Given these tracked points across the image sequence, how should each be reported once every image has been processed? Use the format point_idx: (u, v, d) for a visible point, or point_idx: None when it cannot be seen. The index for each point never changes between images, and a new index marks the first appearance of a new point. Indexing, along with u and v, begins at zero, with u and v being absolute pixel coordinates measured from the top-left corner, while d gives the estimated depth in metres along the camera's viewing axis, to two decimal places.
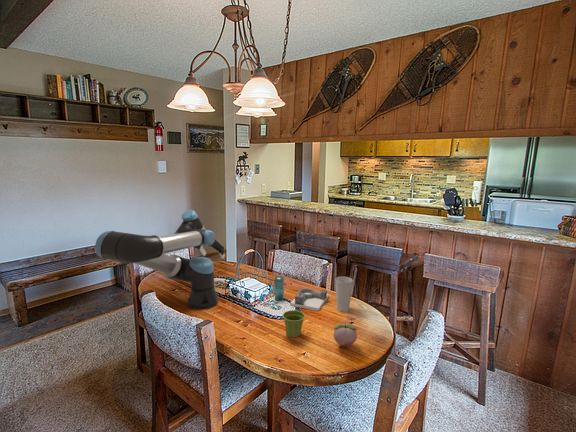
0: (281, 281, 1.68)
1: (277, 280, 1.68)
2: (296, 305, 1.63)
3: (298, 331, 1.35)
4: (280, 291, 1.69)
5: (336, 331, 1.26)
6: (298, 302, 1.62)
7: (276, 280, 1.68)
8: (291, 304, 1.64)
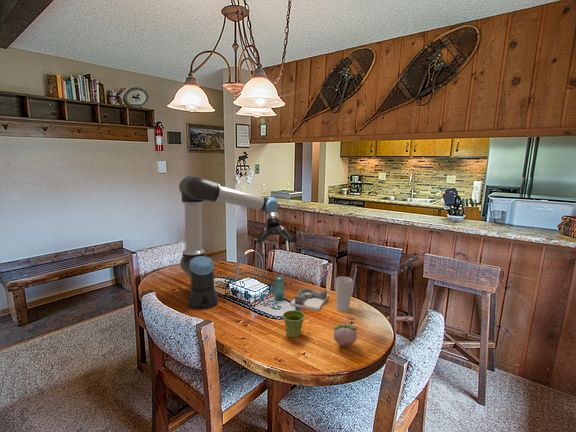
0: (281, 281, 1.68)
1: (277, 280, 1.68)
2: (296, 305, 1.63)
3: (298, 331, 1.35)
4: (280, 291, 1.69)
5: (336, 331, 1.26)
6: (298, 302, 1.62)
7: (276, 280, 1.68)
8: (291, 304, 1.64)
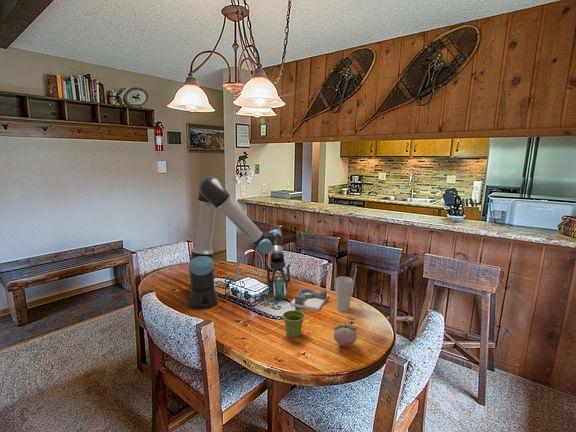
0: (281, 281, 1.68)
1: (277, 280, 1.68)
2: (296, 305, 1.63)
3: (298, 331, 1.35)
4: (280, 291, 1.69)
5: (336, 331, 1.26)
6: (298, 302, 1.62)
7: (276, 280, 1.68)
8: (291, 304, 1.64)
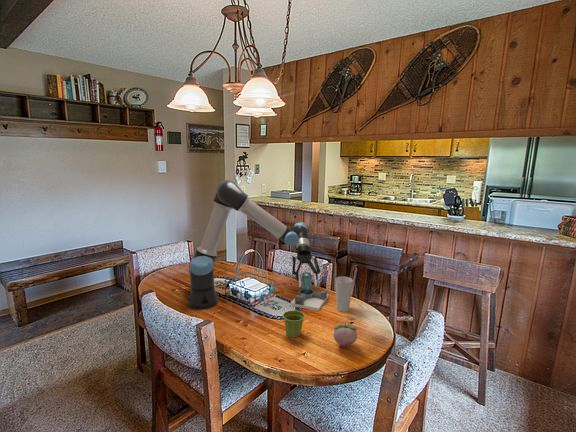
0: (309, 277, 1.69)
1: (305, 276, 1.69)
2: (296, 305, 1.63)
3: (298, 331, 1.35)
4: (308, 287, 1.70)
5: (336, 331, 1.26)
6: (298, 302, 1.62)
7: (304, 276, 1.69)
8: (291, 304, 1.64)
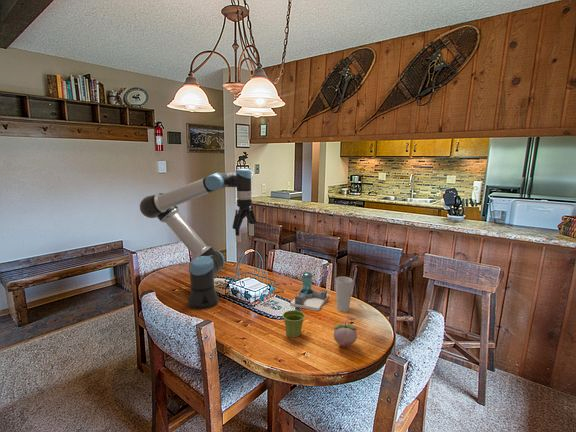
0: (309, 277, 1.69)
1: (305, 276, 1.69)
2: (296, 305, 1.63)
3: (298, 331, 1.35)
4: (308, 287, 1.70)
5: (336, 331, 1.26)
6: (298, 302, 1.62)
7: (304, 276, 1.69)
8: (291, 304, 1.64)
